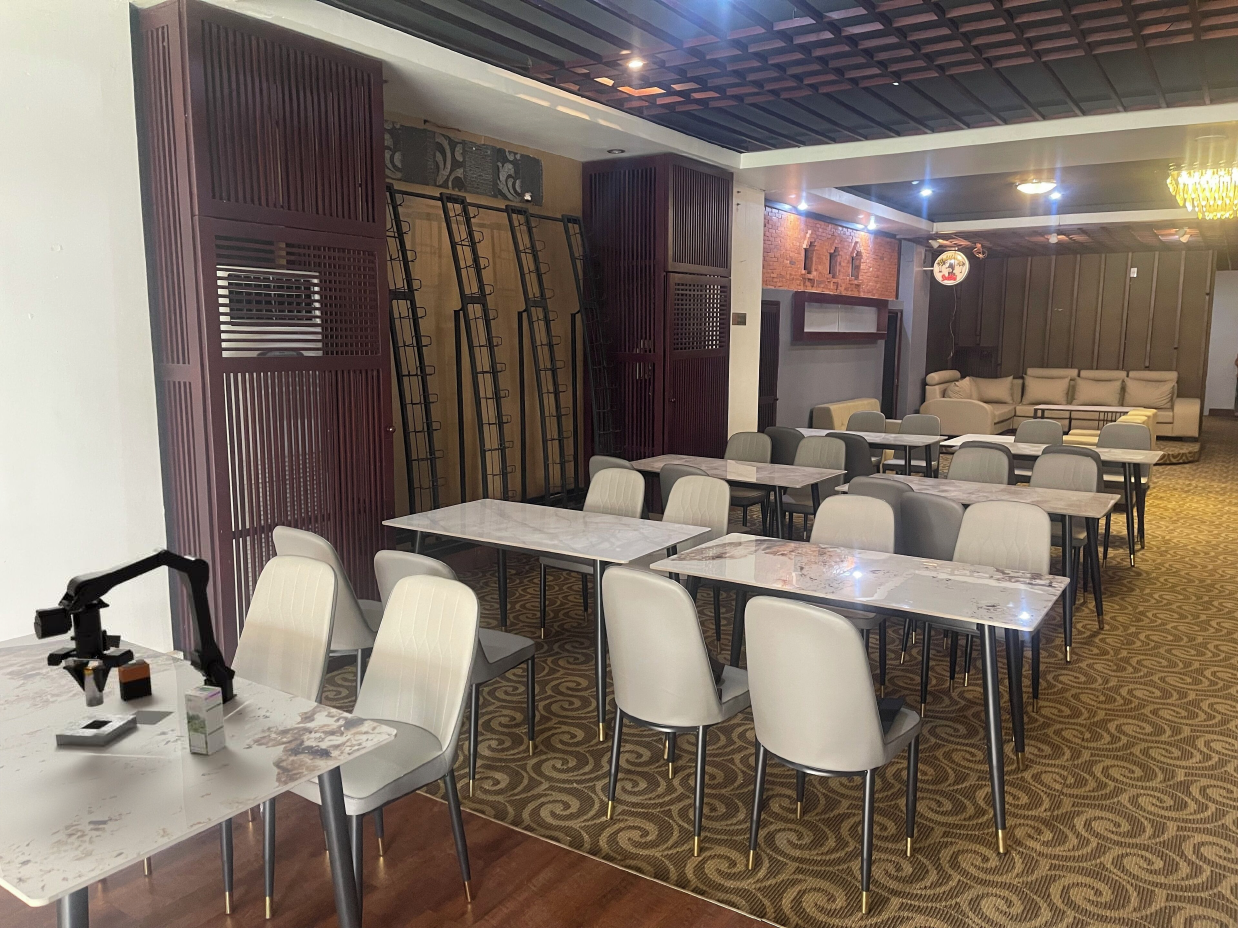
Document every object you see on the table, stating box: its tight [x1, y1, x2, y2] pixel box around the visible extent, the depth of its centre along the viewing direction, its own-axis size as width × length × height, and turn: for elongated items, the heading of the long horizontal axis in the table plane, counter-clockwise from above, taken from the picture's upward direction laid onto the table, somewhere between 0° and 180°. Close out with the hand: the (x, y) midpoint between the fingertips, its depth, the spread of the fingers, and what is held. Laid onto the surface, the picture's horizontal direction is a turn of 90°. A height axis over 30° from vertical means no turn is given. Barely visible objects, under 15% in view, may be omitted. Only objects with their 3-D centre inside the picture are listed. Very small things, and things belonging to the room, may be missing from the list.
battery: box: [117, 658, 153, 702], centre depth 241 cm, size 4×7×10 cm, turn 133°
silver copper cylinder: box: [83, 664, 105, 708], centre depth 215 cm, size 4×4×9 cm
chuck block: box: [55, 713, 138, 748], centre depth 217 cm, size 12×12×3 cm
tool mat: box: [130, 709, 174, 726], centre depth 227 cm, size 10×8×1 cm
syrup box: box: [184, 684, 227, 756], centre depth 208 cm, size 6×6×14 cm
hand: (94, 691), depth 216 cm, fingers closed on silver copper cylinder, 4 cm apart
